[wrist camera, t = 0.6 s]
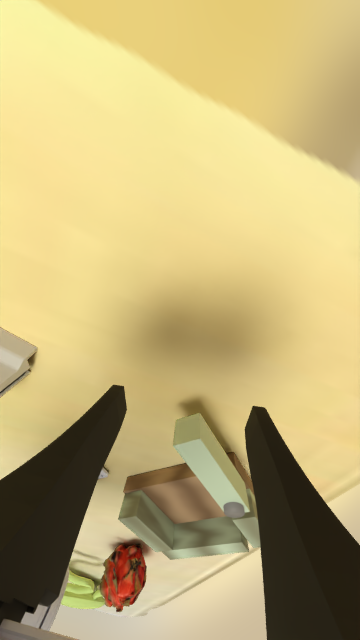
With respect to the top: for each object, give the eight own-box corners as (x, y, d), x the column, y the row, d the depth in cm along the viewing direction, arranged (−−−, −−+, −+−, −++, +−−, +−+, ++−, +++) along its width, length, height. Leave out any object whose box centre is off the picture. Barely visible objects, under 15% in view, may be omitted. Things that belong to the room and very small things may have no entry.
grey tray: (169, 519, 37) (165, 560, 33) (127, 477, 32) (116, 517, 28) (265, 504, 33) (276, 548, 28) (233, 452, 28) (240, 495, 23)
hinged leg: (244, 483, 27) (251, 517, 24) (223, 487, 28) (227, 520, 24) (199, 412, 22) (200, 443, 19) (175, 419, 23) (172, 450, 20)
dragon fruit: (118, 545, 47) (141, 516, 44) (140, 587, 44) (166, 558, 40) (85, 584, 40) (109, 552, 37) (107, 639, 36) (137, 608, 33)
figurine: (89, 544, 46) (76, 584, 41) (138, 589, 55) (133, 626, 50) (27, 548, 50) (7, 585, 45) (83, 590, 59) (72, 624, 54)
